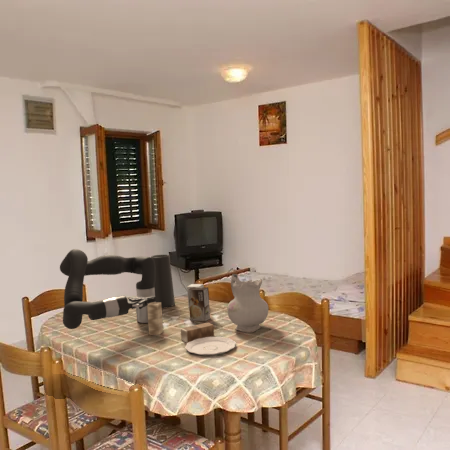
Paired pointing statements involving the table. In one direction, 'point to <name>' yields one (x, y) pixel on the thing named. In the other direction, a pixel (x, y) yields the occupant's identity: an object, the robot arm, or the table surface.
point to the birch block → (155, 318)
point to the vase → (163, 281)
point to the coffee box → (199, 303)
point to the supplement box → (193, 286)
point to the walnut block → (197, 332)
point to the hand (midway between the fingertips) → (154, 298)
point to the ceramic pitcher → (247, 305)
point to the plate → (200, 343)
